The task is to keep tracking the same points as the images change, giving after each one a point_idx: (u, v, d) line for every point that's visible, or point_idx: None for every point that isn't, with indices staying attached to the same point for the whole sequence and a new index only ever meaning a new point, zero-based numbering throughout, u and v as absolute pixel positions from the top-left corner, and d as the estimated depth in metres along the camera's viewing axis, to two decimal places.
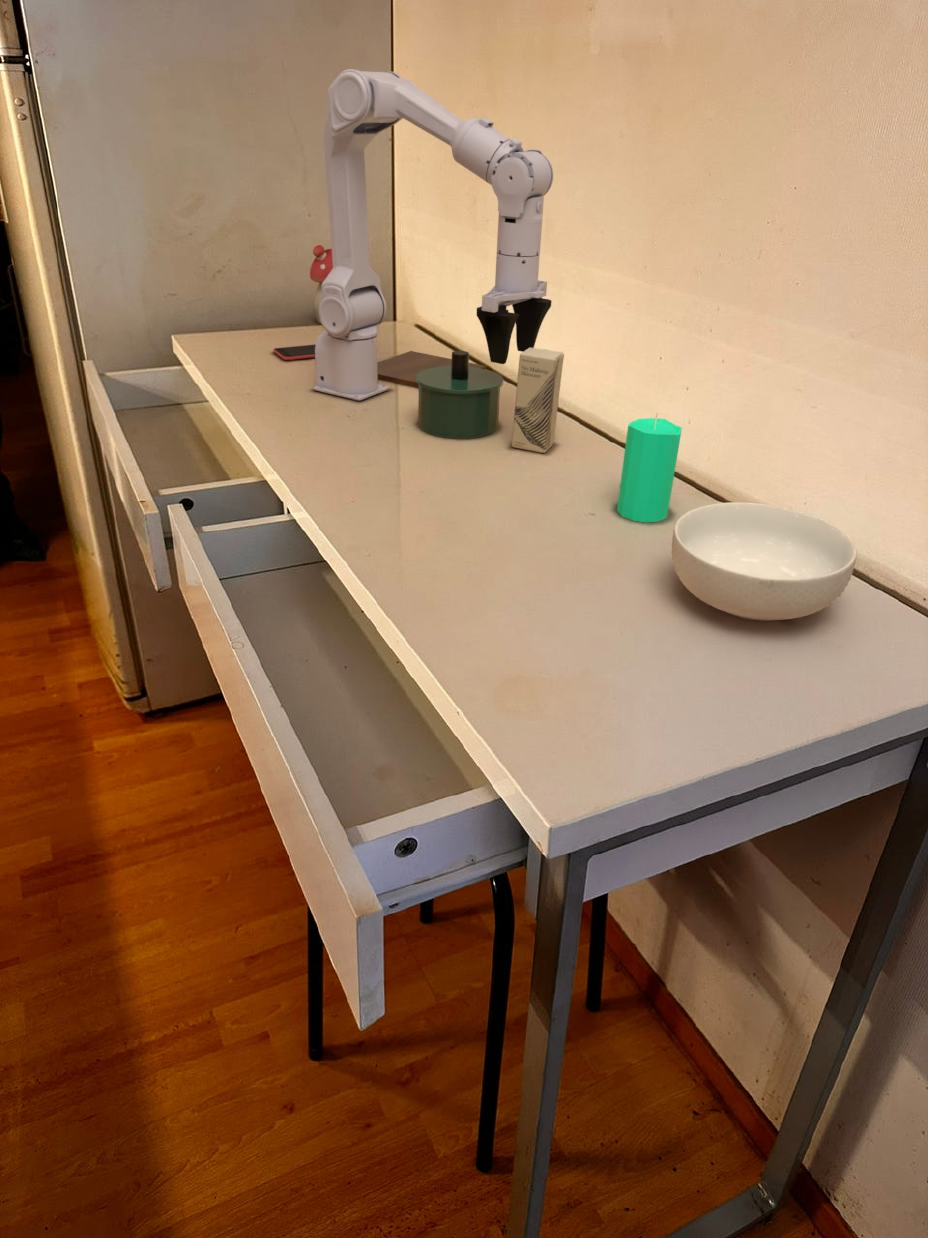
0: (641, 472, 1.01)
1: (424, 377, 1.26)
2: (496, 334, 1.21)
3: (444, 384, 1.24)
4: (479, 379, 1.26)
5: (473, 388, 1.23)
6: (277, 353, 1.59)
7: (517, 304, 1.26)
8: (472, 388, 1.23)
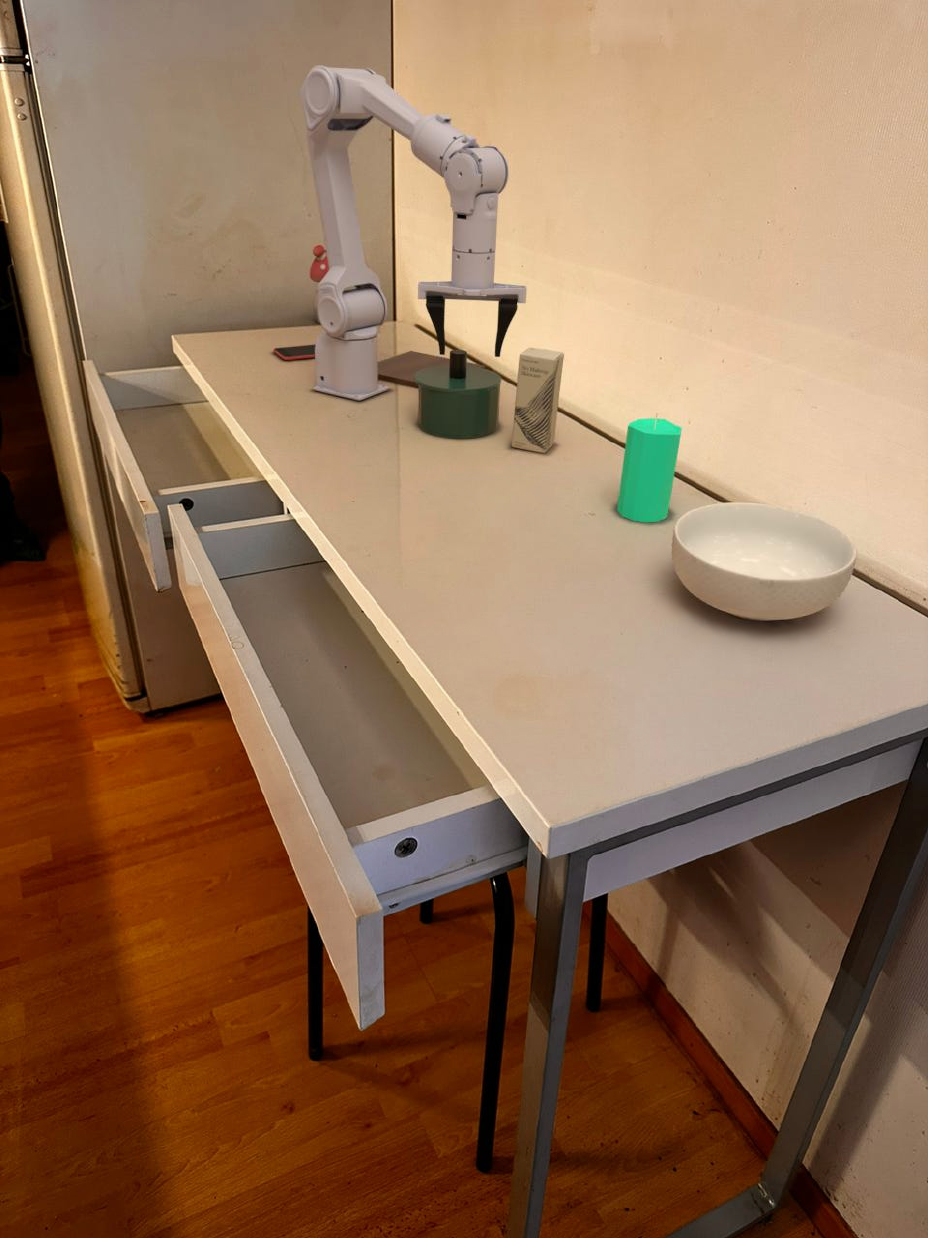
0: (641, 472, 1.01)
1: (422, 376, 1.27)
2: None
3: (441, 383, 1.24)
4: (477, 378, 1.27)
5: (470, 387, 1.23)
6: (277, 353, 1.59)
7: (498, 305, 1.23)
8: (469, 387, 1.23)
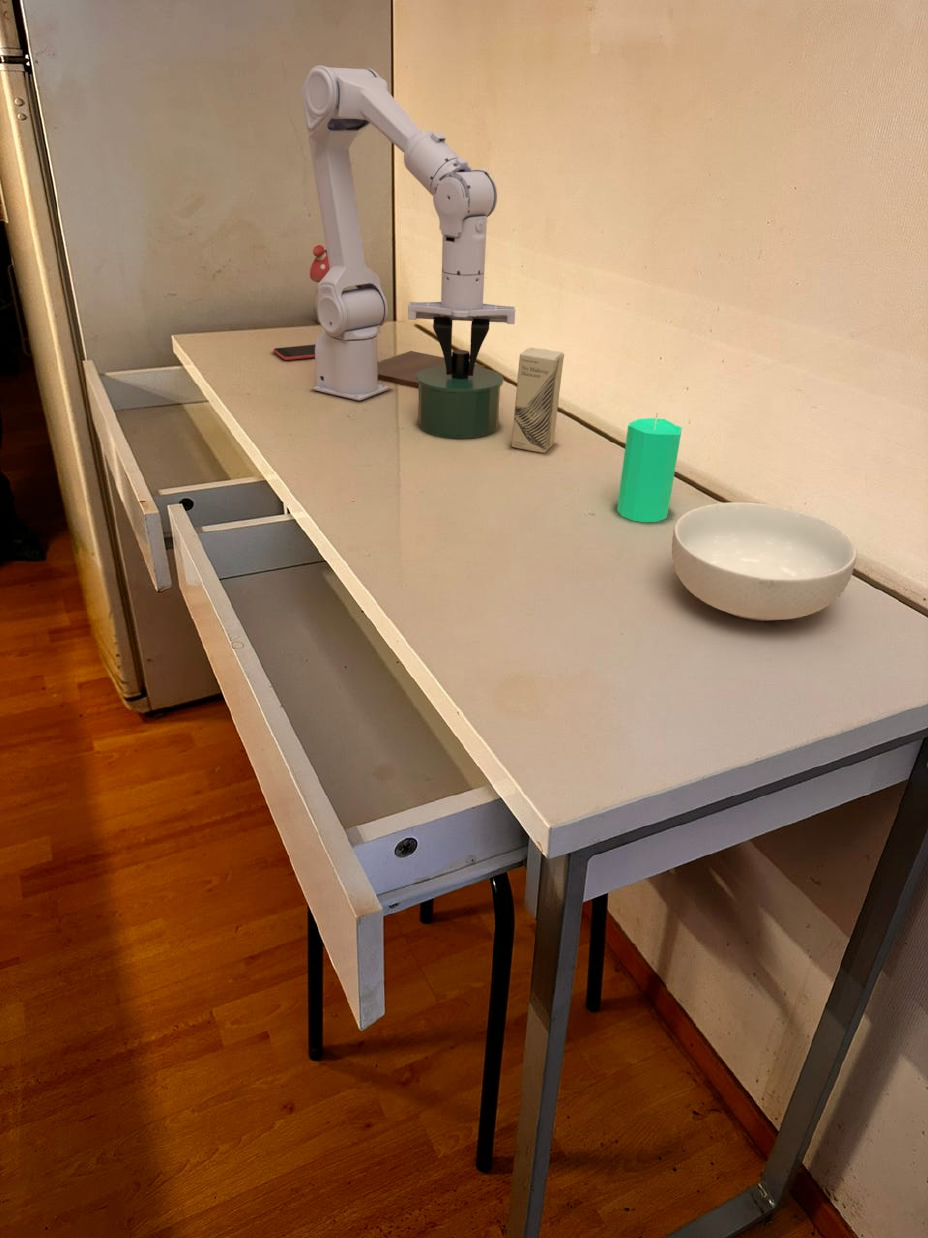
0: (641, 472, 1.01)
1: (424, 376, 1.27)
2: None
3: (443, 383, 1.24)
4: (479, 378, 1.27)
5: (472, 387, 1.23)
6: (277, 353, 1.59)
7: None
8: (471, 387, 1.23)
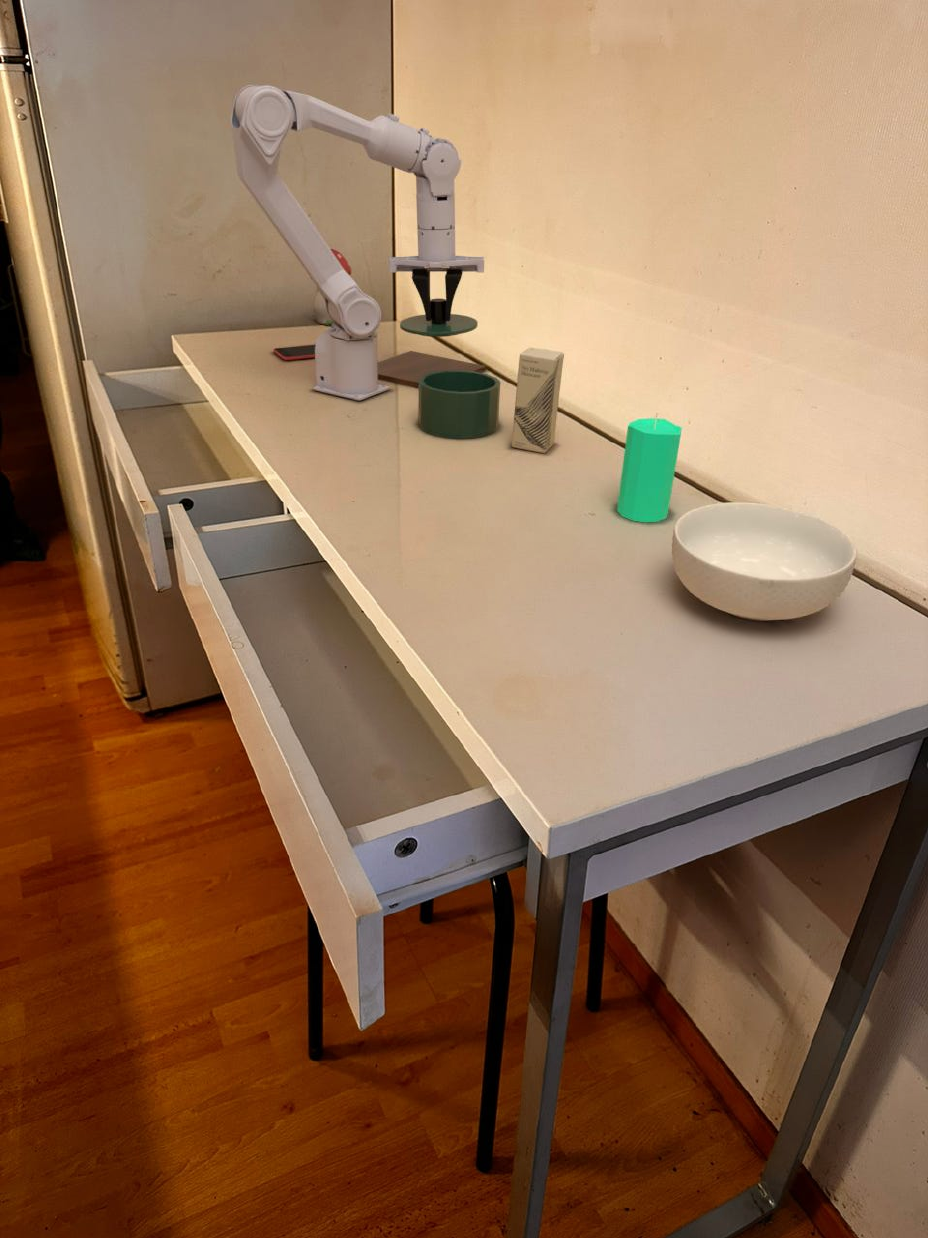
0: (641, 472, 1.01)
1: (407, 323, 1.43)
2: None
3: (423, 328, 1.40)
4: (456, 323, 1.43)
5: (448, 330, 1.39)
6: (277, 353, 1.59)
7: None
8: (447, 330, 1.39)
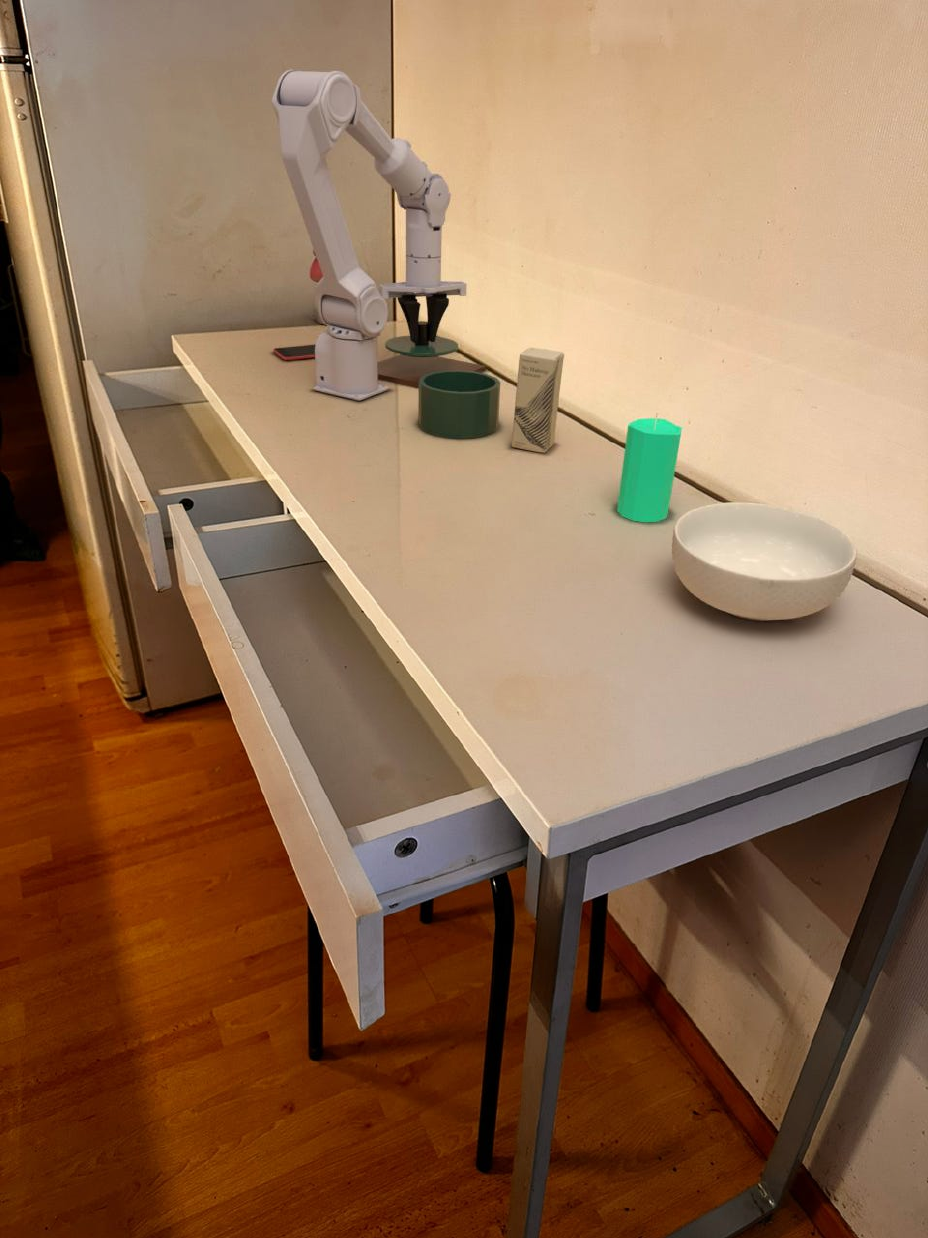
0: (641, 472, 1.01)
1: (394, 346, 1.50)
2: None
3: (416, 350, 1.49)
4: (438, 343, 1.52)
5: (442, 350, 1.49)
6: (277, 353, 1.59)
7: (427, 300, 1.50)
8: (441, 350, 1.49)
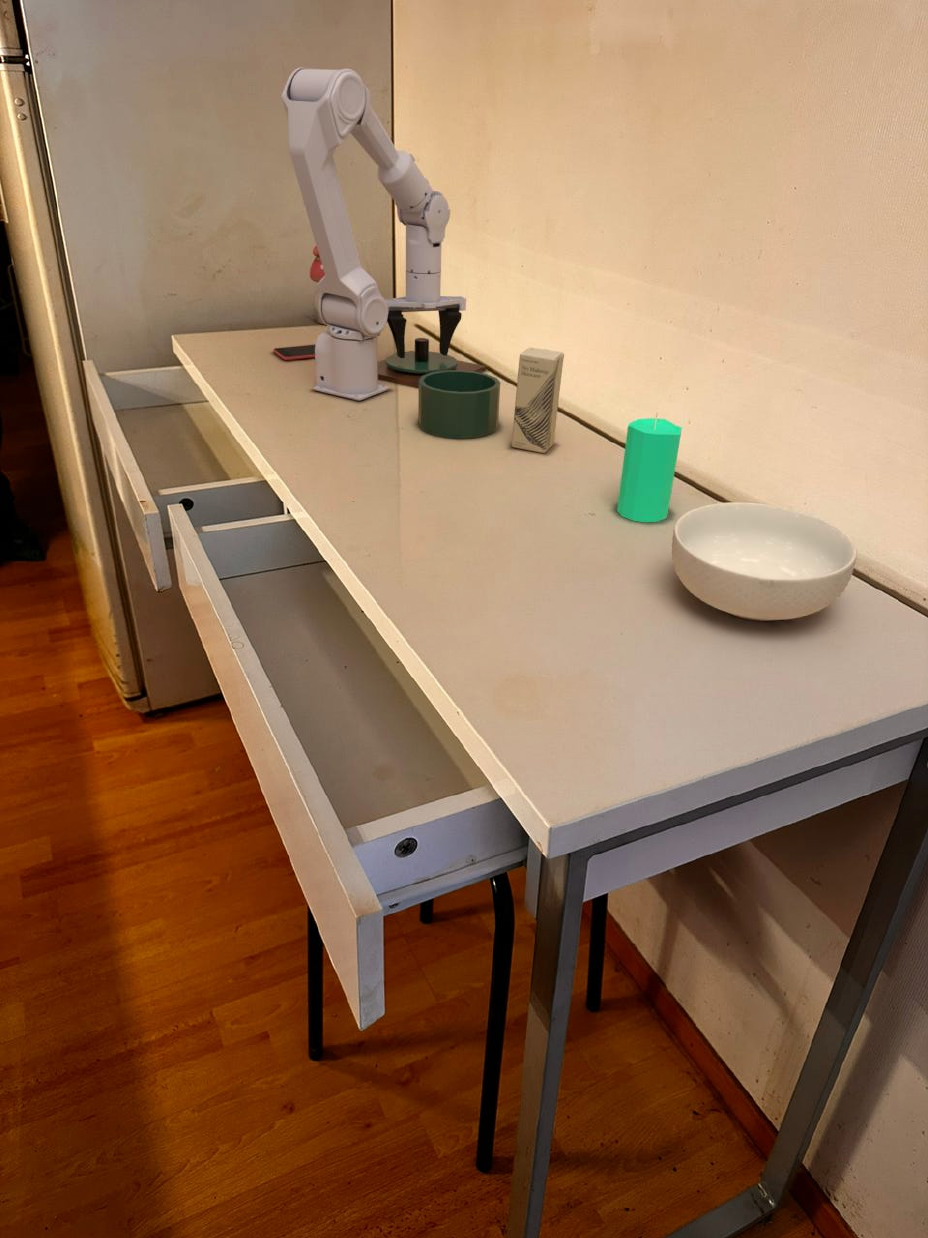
0: (641, 472, 1.01)
1: (394, 362, 1.51)
2: None
3: (416, 366, 1.50)
4: (438, 360, 1.54)
5: (442, 367, 1.50)
6: (277, 353, 1.59)
7: (440, 314, 1.52)
8: (441, 367, 1.50)
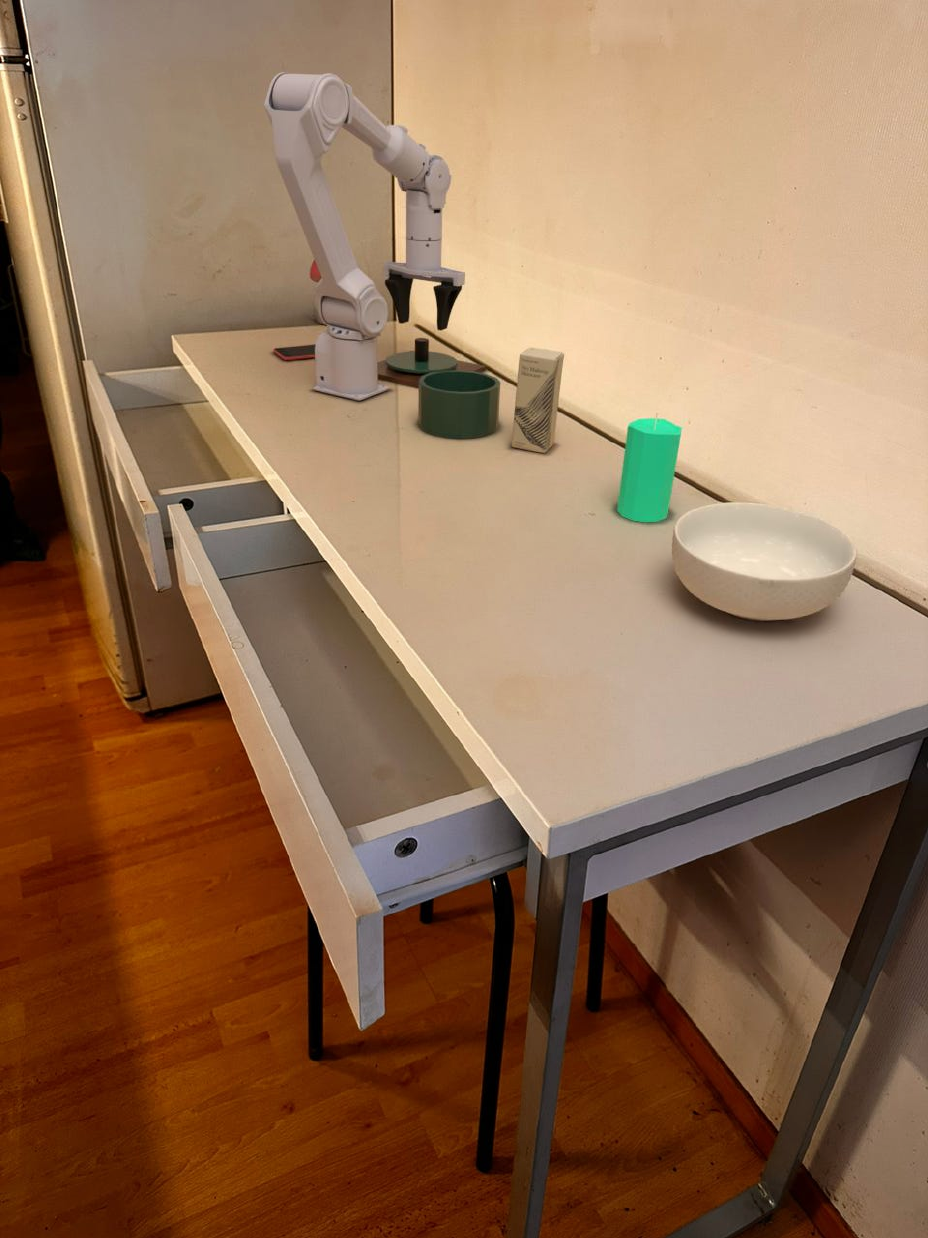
0: (641, 472, 1.01)
1: (394, 362, 1.51)
2: (444, 305, 1.46)
3: (416, 366, 1.50)
4: (438, 360, 1.54)
5: (442, 367, 1.50)
6: (277, 353, 1.59)
7: (398, 284, 1.47)
8: (441, 367, 1.50)
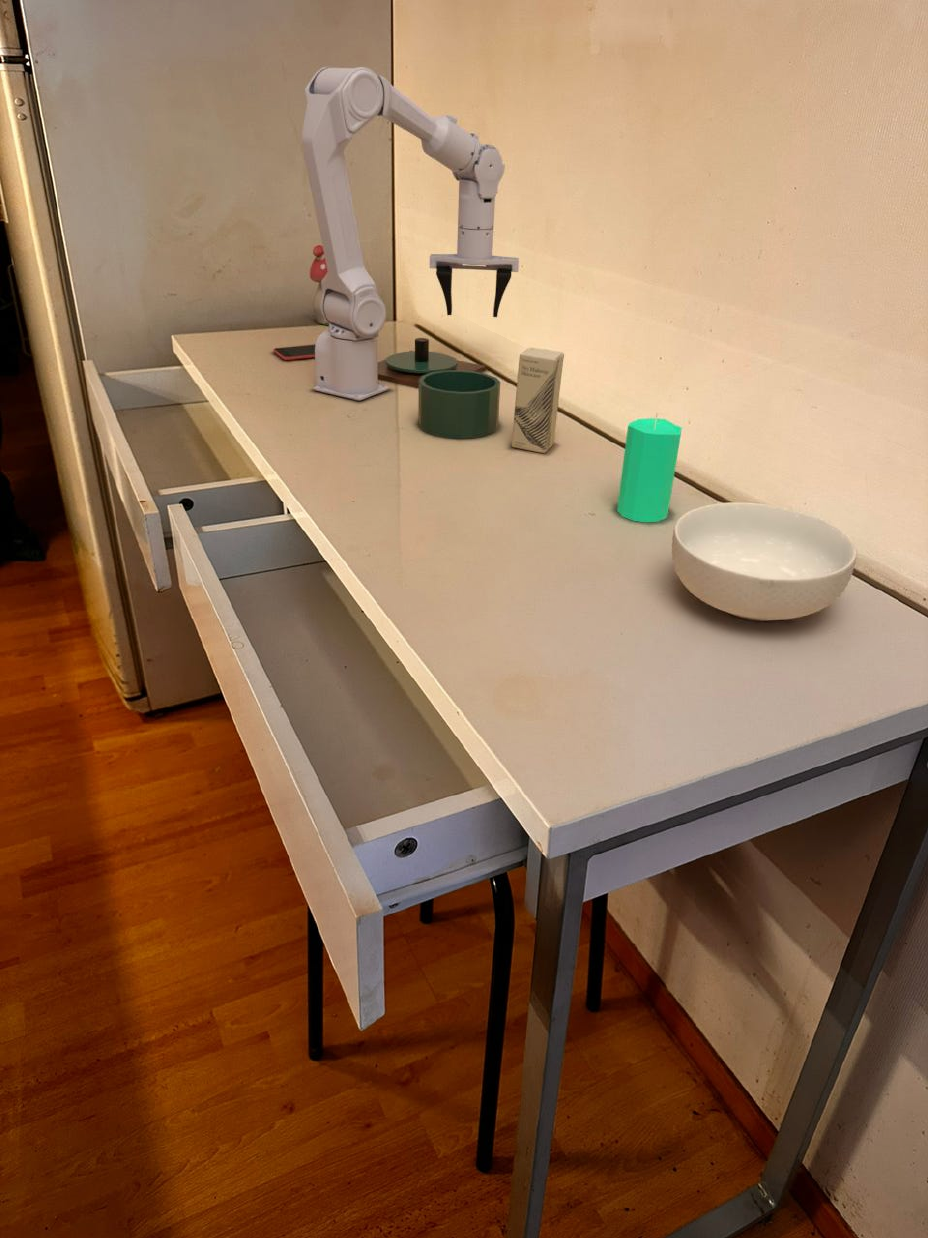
0: (641, 472, 1.01)
1: (394, 362, 1.51)
2: None
3: (416, 366, 1.50)
4: (438, 360, 1.54)
5: (442, 367, 1.50)
6: (277, 353, 1.59)
7: None
8: (441, 367, 1.50)
